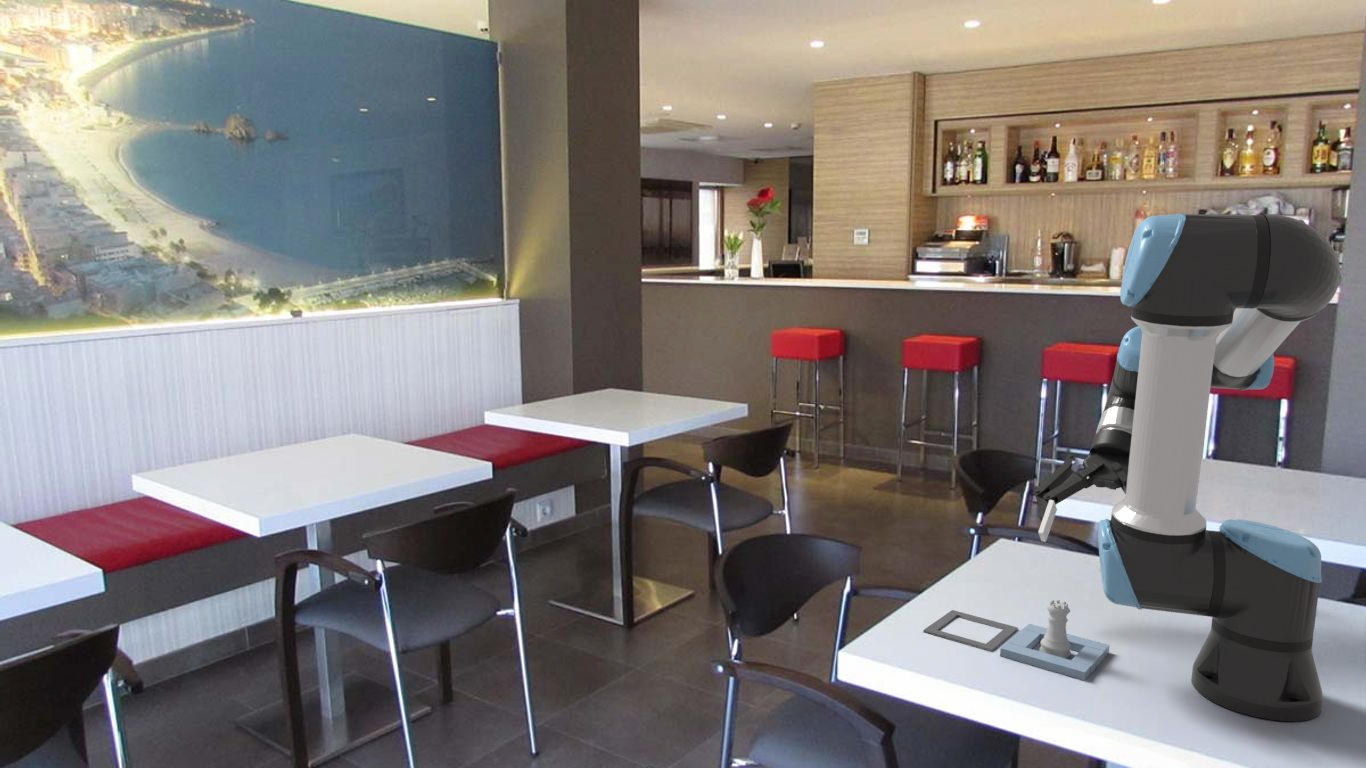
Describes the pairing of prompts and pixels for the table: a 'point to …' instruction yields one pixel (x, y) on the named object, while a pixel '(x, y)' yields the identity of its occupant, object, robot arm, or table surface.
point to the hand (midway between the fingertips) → (1085, 545)
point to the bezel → (988, 646)
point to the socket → (1077, 667)
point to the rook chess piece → (1056, 631)
